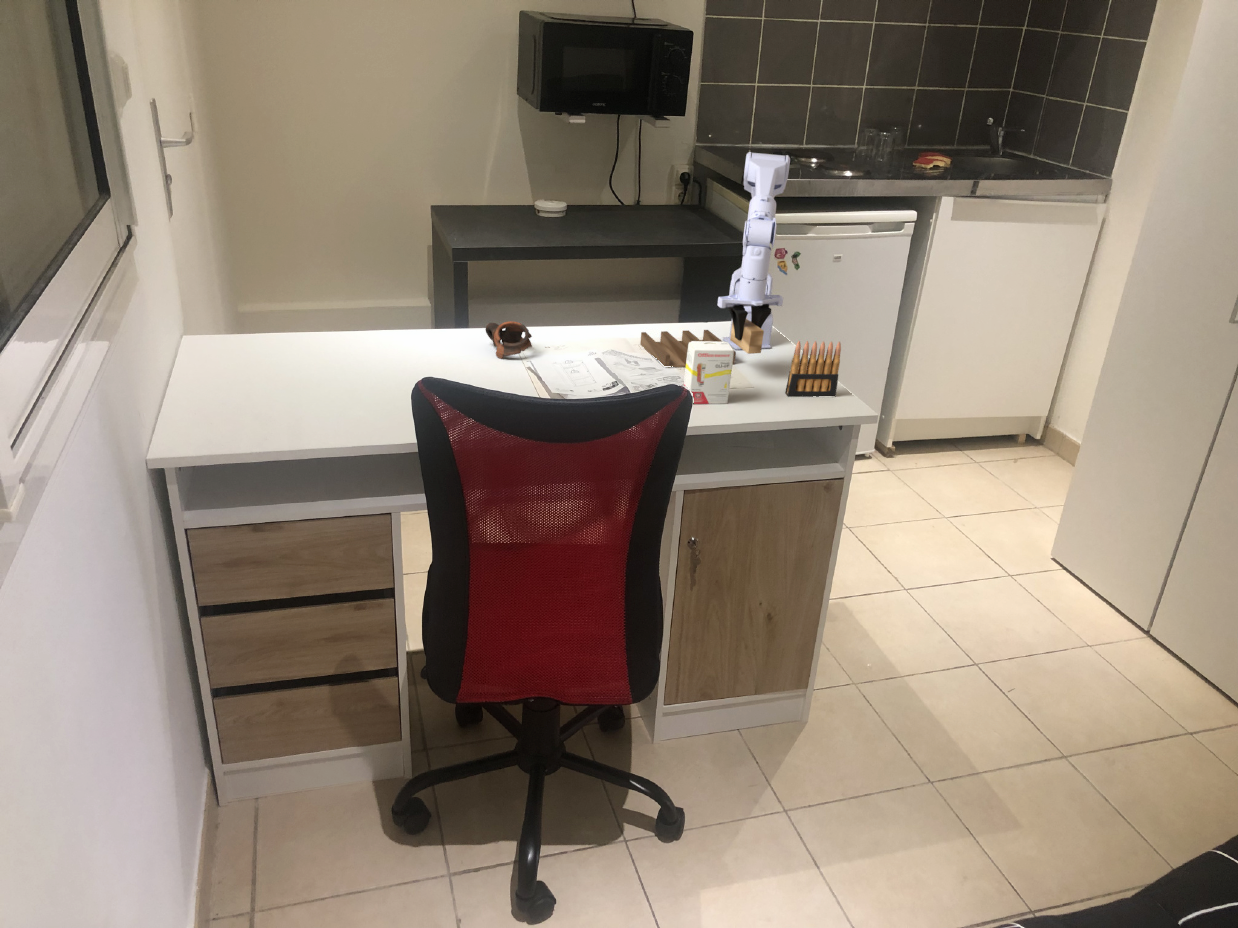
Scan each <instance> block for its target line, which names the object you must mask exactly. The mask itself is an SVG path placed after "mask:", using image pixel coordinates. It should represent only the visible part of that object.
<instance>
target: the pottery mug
mask: <svg viewBox="0 0 1238 928" xmlns="http://www.w3.org/2000/svg"><path fill="white" fill-rule="evenodd" d="M485 333H486V335H487V337H488V338H489V339H490V340H491V341H492V344H493V347H496V352H495V356H496V357H498V359H500V360H501V359H503V358H504V357H508V356H513V355H517V354H518V355H519V354H521V353H522V352H524V351H526V350H527V349H528V348H531V347H533V345H532V342H531V340H530V339H531V338H532V337H533V336H532V334H531V333H530V331H529V329H528V328H527V327H526V326H525V325H524V324H522V323H520V322H518V321H512V320H511V321H510V320H509V321H505V322H502V323H501V324H498V323H495V322H489V323H487V324H486V326H485ZM523 333H524V337H522V336H523Z"/></svg>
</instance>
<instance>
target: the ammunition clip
mask: <svg viewBox="0 0 1238 928" xmlns="http://www.w3.org/2000/svg"><path fill="white" fill-rule="evenodd" d="M809 344H810V343H809V341H808V340H807V341H806V342H805V344H804V346H803V349H802V348H801V347H802V346H801V341H800V340H798V341H797V343H796V345H795V348H794V352H793V356H792V359H791V365H790V370H789V372H788V373H789V374H788V378H787V383H786V387H785V392H784V394H785V395H786V397H788V398H789V397H790V398H792V397H793V398H796V397H798V398H799V397H800V398H801V397H802V398H806V397H807V398H810V397H811V398H814V397H813V396H816V397H815V398H820V397H819V396H835V395H836V396H837V390H838V382H839V369H840V363H841V351H842V346H841V345H842V344H841V341H838V342H837V344H836V347H835V349H834V343H833V341H832V340H831V341H830V342H829V344H828V347H827V350H826V343H825V341H822V342H821V343H820V347H819V349H818V344H817V341H816V340H815V341H814V342H813V344H812V347H811V349H810V345H809ZM801 349H802V354H801ZM809 350H810V351H809ZM825 351H826V352H825ZM809 352H810V354H809ZM817 352H818V354H817ZM833 352H834V354H833ZM825 353H826V354H825ZM800 357H801V358H800ZM836 396H835V397H836Z"/></svg>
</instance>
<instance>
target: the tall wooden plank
mask: <svg viewBox="0 0 1238 928" xmlns="http://www.w3.org/2000/svg"><path fill="white" fill-rule="evenodd" d="M763 334H764V331H763V330H762V329H761V328H759V327H758V326H756V325H755V324H753V323H752V322H751V321H749V320H748V319H746V320H745V324H744V330H743V337H742V340H738V339H736V338H735V331H734V325H733V322H732V330H731V338H730V340H731V341H732V342H733V343H735V344H736V345H737V346H739V347H740V348H741V349H740V350H743V352H745V353H747V355H750V354H761V353H762V349H763V348H762V341H763Z"/></svg>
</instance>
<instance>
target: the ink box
mask: <svg viewBox="0 0 1238 928" xmlns="http://www.w3.org/2000/svg"><path fill="white" fill-rule="evenodd" d="M734 351H735V349H734V348H733V347H732V346H730V344H729V343H728V342H725V341H723V342H717V341H715V342H714V341H691V342H689V344H688V352H687V360H686V367H684V369H685V370H684V377H683V385H684V386H686V387H688V389H690V390H691V392H692V393H693V397H694V404H693V405H721V404H723V405H726V404H728V401H729V393H730V385H731V379H732V372H733V371H732V369H733V365H734V364H733V356H734ZM732 364H733V365H732Z"/></svg>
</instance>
